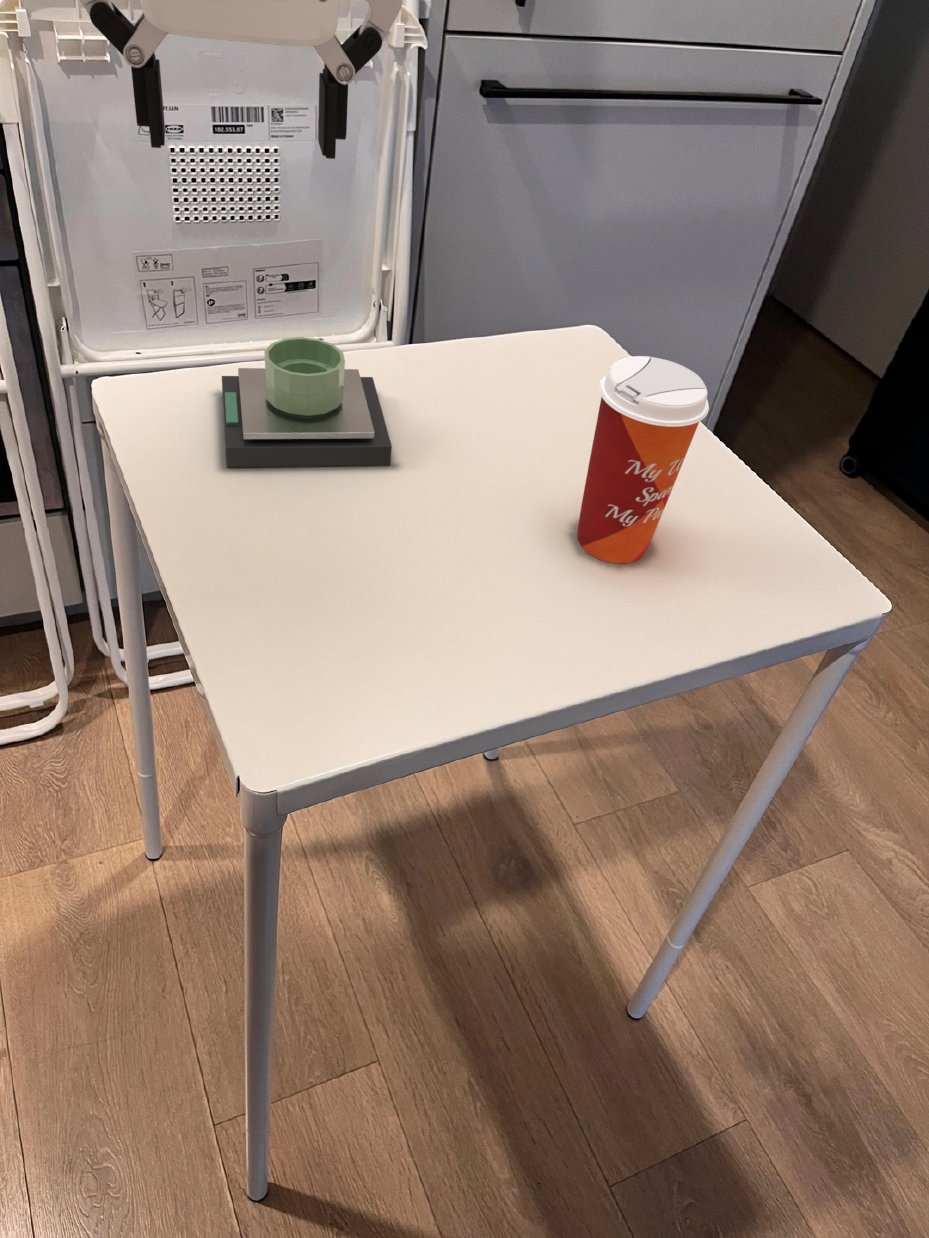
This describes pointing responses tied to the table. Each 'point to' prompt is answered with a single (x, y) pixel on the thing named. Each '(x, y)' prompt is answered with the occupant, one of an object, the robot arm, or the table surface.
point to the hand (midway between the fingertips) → (244, 146)
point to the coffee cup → (637, 453)
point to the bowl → (304, 375)
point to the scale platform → (278, 424)
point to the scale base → (302, 449)
